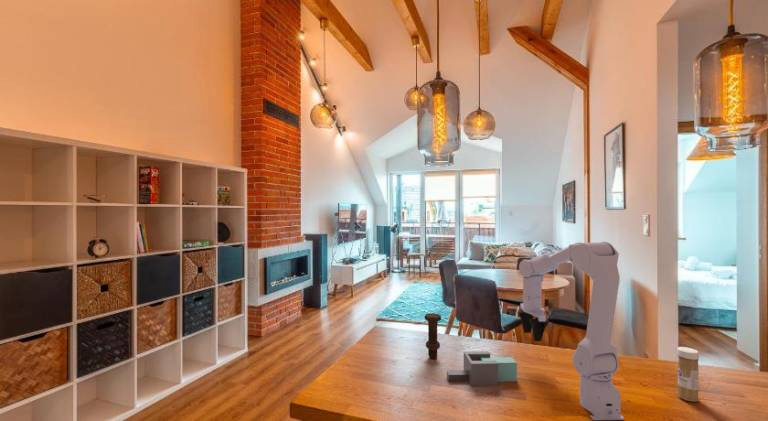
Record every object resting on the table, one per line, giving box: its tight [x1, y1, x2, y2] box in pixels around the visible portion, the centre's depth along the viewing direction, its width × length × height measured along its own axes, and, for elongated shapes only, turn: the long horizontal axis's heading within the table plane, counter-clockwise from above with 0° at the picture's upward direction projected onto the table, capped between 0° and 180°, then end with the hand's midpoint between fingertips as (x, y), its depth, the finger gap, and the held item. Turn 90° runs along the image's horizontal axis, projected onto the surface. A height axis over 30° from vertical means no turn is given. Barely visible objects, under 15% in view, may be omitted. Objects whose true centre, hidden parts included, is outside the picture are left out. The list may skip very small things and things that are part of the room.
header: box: [446, 350, 499, 387], centre depth 109 cm, size 9×14×7 cm, turn 92°
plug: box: [481, 356, 518, 382], centre depth 109 cm, size 4×10×6 cm, turn 91°
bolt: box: [424, 312, 442, 360], centre depth 124 cm, size 6×5×15 cm
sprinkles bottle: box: [676, 346, 700, 403], centre depth 97 cm, size 5×5×14 cm
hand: (532, 336), depth 117 cm, fingers open, 7 cm apart
